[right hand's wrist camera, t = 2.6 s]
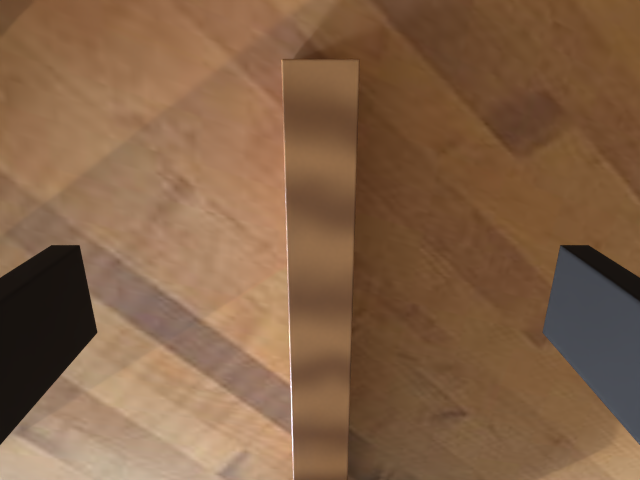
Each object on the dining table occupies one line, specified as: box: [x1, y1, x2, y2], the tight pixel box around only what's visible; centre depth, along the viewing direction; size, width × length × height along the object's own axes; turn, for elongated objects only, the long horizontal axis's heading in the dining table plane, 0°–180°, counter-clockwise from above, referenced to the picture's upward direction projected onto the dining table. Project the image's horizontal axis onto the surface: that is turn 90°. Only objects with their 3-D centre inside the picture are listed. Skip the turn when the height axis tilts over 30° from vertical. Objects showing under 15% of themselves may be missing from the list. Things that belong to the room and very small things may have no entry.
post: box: [282, 59, 360, 480], centre depth 40 cm, size 58×5×8 cm, turn 0°
